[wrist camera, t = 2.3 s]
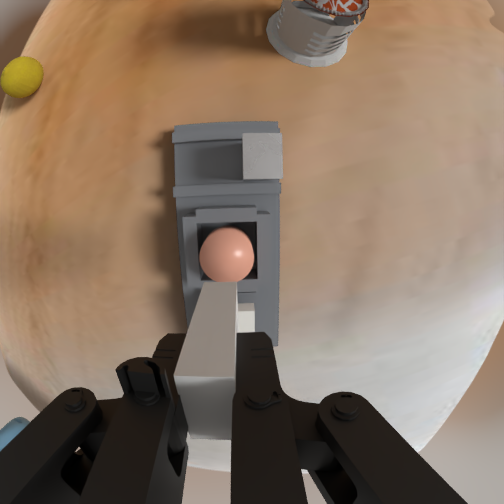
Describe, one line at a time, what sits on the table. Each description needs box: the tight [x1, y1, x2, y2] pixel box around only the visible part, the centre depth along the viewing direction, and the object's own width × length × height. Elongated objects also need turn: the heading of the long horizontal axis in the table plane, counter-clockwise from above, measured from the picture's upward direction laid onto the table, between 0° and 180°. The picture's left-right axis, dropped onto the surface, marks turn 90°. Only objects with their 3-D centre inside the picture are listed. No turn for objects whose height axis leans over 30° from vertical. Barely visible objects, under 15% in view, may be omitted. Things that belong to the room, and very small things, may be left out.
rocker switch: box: [238, 303, 255, 333], centre depth 26 cm, size 4×6×2 cm
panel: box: [172, 121, 281, 346], centre depth 26 cm, size 10×24×5 cm, turn 1°
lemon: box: [1, 57, 44, 98], centre depth 18 cm, size 6×6×8 cm
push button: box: [199, 225, 254, 282], centre depth 23 cm, size 4×4×3 cm
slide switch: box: [242, 133, 283, 180], centre depth 22 cm, size 3×4×5 cm
